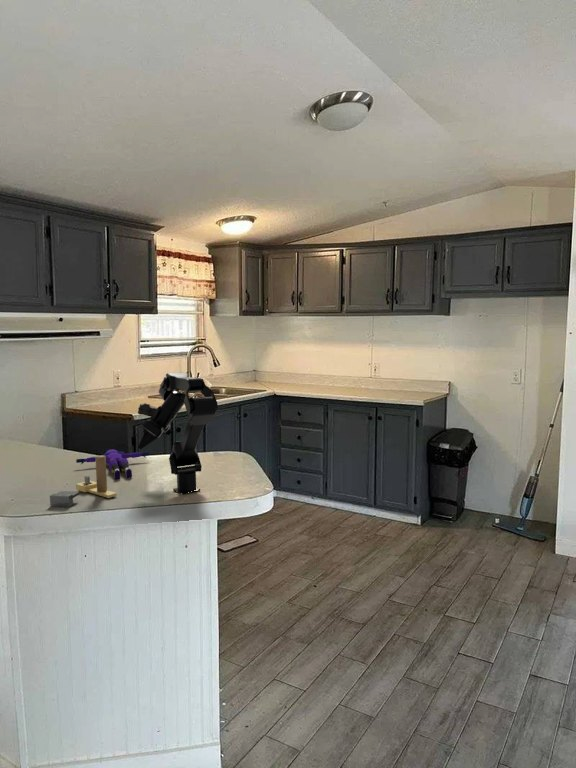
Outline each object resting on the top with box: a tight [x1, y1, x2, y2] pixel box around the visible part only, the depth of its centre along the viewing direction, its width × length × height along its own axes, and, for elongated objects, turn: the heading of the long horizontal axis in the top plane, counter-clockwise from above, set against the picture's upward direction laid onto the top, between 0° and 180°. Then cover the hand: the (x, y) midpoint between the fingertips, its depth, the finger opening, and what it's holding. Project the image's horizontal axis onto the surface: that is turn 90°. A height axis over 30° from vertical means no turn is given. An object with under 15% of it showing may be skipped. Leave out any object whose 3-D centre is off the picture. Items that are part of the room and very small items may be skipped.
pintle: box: [80, 475, 91, 493], centre depth 179 cm, size 4×4×5 cm
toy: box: [75, 449, 150, 481], centre depth 206 cm, size 27×6×30 cm
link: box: [75, 455, 118, 499], centre depth 176 cm, size 16×5×12 cm, turn 52°
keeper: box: [49, 490, 81, 508], centre depth 166 cm, size 6×6×3 cm
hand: (142, 446), depth 184 cm, fingers open, 9 cm apart
